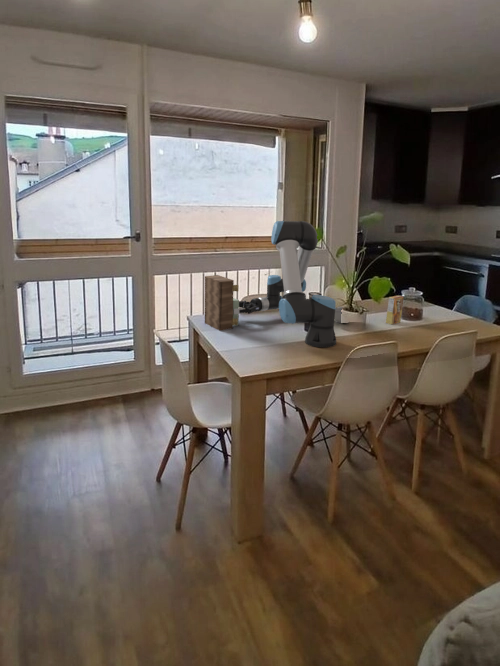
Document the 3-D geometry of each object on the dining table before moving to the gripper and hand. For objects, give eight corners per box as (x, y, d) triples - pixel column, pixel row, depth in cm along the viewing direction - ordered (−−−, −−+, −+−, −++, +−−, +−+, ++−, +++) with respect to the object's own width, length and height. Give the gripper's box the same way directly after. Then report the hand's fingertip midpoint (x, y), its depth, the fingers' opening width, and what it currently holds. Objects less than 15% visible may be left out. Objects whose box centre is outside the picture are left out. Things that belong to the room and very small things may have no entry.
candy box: (394, 320, 284) (397, 295, 280) (400, 322, 281) (404, 296, 276) (385, 323, 279) (388, 297, 274) (391, 325, 276) (394, 298, 271)
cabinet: (237, 329, 259) (239, 280, 251) (221, 331, 253) (222, 282, 246) (220, 320, 273) (221, 274, 265) (204, 323, 268) (204, 276, 260)
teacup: (353, 325, 272) (355, 311, 270) (334, 324, 272) (335, 310, 270) (349, 318, 286) (350, 305, 283) (331, 318, 286) (332, 304, 283)
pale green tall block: (239, 324, 266) (240, 299, 262) (233, 326, 264) (233, 300, 260) (232, 321, 273) (232, 296, 269) (225, 322, 270) (225, 297, 266)
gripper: (272, 316, 267) (239, 321, 255) (246, 306, 286) (215, 310, 275) (272, 302, 264) (239, 307, 253) (247, 293, 284) (215, 297, 272)
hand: (226, 308), depth 264 cm, fingers open, 13 cm apart
